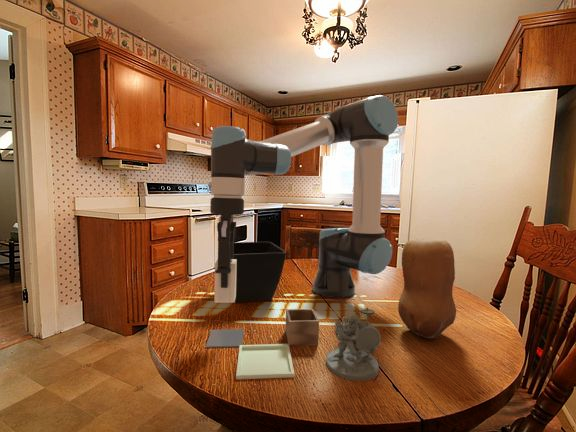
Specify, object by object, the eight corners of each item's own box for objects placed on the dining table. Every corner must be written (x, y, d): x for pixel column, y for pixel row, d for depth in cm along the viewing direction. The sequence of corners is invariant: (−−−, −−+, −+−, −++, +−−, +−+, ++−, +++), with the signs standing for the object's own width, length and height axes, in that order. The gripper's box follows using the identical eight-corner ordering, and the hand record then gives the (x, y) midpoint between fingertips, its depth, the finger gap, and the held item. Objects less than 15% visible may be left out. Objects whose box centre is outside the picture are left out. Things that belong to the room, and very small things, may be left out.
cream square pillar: (235, 295, 71) (236, 258, 71) (234, 302, 67) (235, 263, 66) (216, 295, 71) (217, 258, 70) (213, 302, 66) (214, 263, 66)
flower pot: (285, 302, 94) (287, 251, 93) (226, 309, 88) (227, 253, 87) (269, 284, 112) (270, 241, 111) (218, 289, 106) (219, 242, 104)
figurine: (321, 352, 66) (323, 300, 65) (368, 351, 66) (370, 300, 66) (332, 383, 55) (335, 321, 54) (388, 381, 56) (391, 320, 55)
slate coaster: (243, 331, 74) (243, 329, 74) (241, 348, 66) (242, 345, 66) (211, 332, 73) (211, 329, 73) (205, 349, 65) (205, 346, 65)
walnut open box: (312, 331, 75) (313, 309, 75) (318, 346, 68) (319, 321, 68) (285, 332, 74) (286, 309, 74) (288, 346, 67) (288, 321, 67)
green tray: (288, 348, 67) (288, 343, 67) (294, 378, 56) (294, 373, 56) (239, 349, 66) (239, 345, 66) (235, 380, 55) (236, 375, 55)
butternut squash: (399, 319, 84) (404, 232, 82) (452, 329, 78) (459, 237, 76) (394, 340, 72) (400, 239, 70) (457, 355, 66) (465, 245, 64)
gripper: (216, 195, 76) (214, 284, 77) (203, 197, 58) (202, 311, 60) (245, 196, 76) (243, 284, 78) (242, 198, 59) (239, 311, 61)
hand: (225, 296), depth 69 cm, fingers closed on cream square pillar, 5 cm apart
